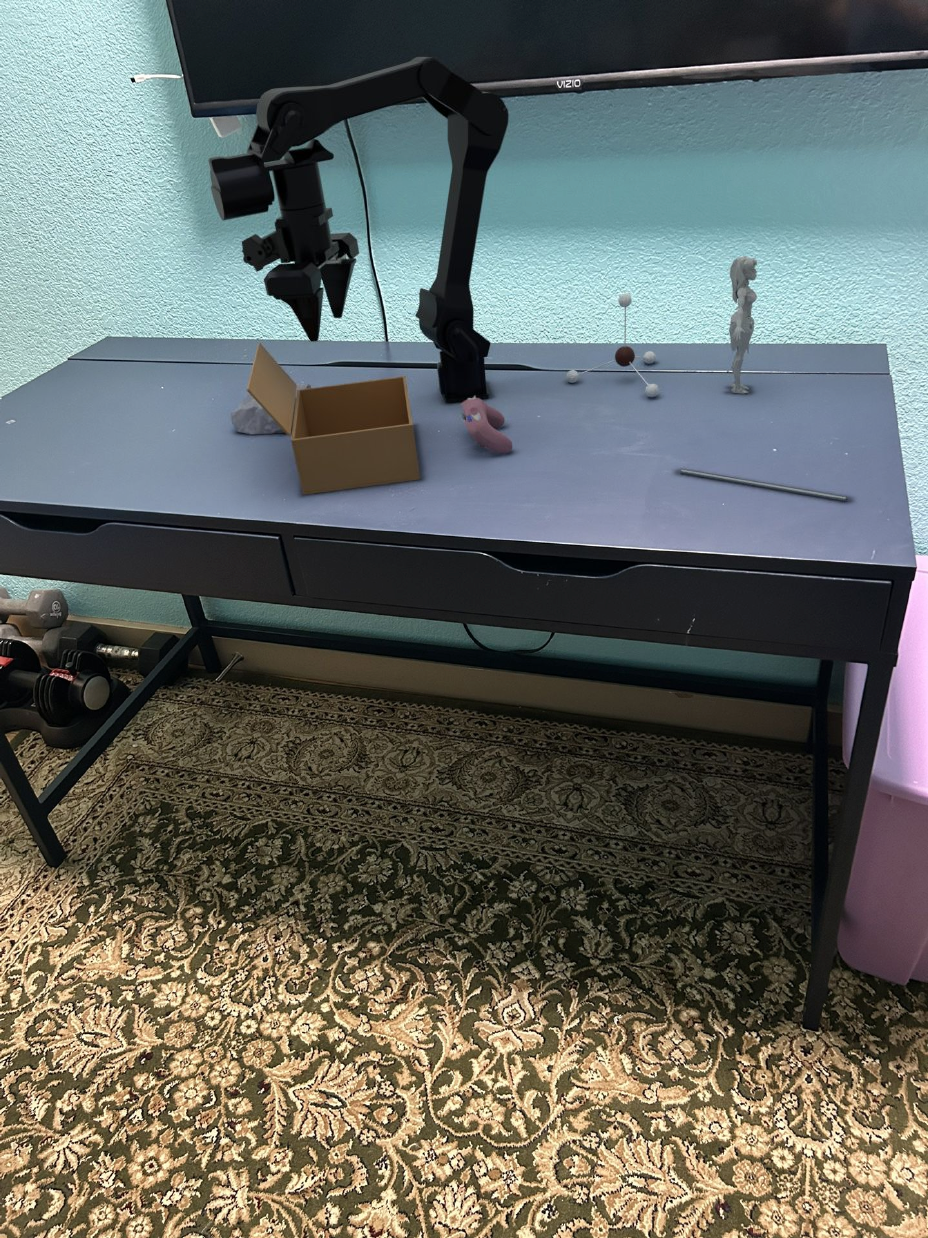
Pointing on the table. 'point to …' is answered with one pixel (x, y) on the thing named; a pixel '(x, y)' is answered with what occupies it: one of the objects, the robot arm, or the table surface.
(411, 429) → the carton
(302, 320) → the robot arm
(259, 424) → the stone block
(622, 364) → the molecular model
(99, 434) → the table surface
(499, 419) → the video game controller
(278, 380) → the flap
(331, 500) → the table surface
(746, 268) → the human figurine
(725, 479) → the rod
